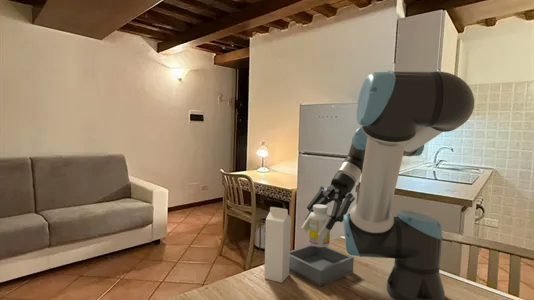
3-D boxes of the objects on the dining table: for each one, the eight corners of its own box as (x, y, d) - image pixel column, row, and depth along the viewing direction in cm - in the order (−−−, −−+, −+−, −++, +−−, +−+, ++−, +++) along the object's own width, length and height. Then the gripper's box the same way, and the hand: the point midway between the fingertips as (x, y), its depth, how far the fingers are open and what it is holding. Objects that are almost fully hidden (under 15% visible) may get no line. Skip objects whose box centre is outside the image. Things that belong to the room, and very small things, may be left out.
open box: (353, 272, 106) (353, 257, 106) (319, 287, 96) (320, 270, 96) (316, 255, 119) (317, 242, 118) (283, 267, 109) (284, 252, 108)
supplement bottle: (328, 240, 110) (329, 203, 109) (330, 248, 104) (331, 209, 103) (308, 239, 111) (309, 202, 110) (309, 247, 104) (310, 208, 103)
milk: (272, 270, 106) (274, 204, 104) (289, 275, 104) (291, 207, 102) (264, 278, 101) (265, 208, 99) (282, 283, 98) (283, 211, 96)
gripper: (374, 190, 108) (341, 249, 99) (328, 180, 123) (296, 231, 114) (366, 175, 104) (330, 236, 95) (319, 167, 119) (285, 219, 110)
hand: (312, 233), depth 105 cm, fingers closed on supplement bottle, 7 cm apart
